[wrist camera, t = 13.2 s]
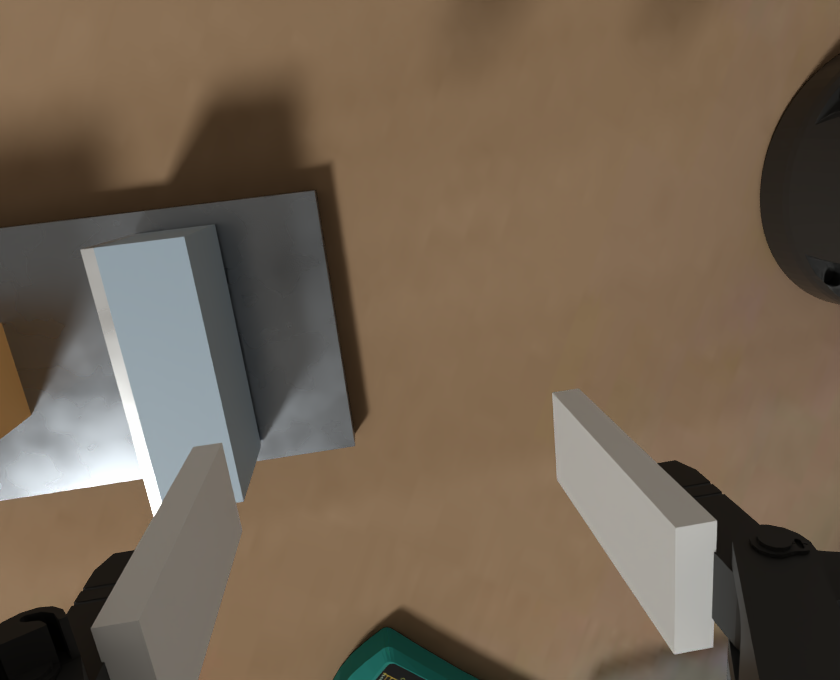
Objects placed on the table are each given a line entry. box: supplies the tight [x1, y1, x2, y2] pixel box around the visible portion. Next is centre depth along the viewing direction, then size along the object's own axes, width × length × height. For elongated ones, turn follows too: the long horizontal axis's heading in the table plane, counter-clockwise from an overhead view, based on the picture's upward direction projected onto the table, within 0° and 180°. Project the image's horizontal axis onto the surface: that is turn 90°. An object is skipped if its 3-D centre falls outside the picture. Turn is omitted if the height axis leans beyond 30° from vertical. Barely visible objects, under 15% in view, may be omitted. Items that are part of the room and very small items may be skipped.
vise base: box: [0, 190, 355, 501], centre depth 28 cm, size 28×14×8 cm, turn 96°
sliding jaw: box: [80, 224, 261, 516], centre depth 28 cm, size 4×12×6 cm, turn 6°
